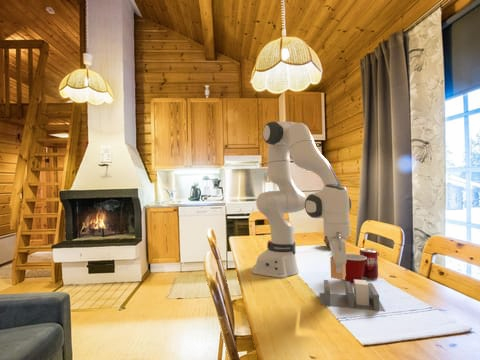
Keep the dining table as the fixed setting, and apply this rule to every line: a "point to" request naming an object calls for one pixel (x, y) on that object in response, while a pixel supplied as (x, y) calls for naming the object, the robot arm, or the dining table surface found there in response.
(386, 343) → the dining table surface
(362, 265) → the plastic cup
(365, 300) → the cream rectangular block
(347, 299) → the grey slotted rack
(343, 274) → the orange block
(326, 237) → the pine cone
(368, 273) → the soda can
